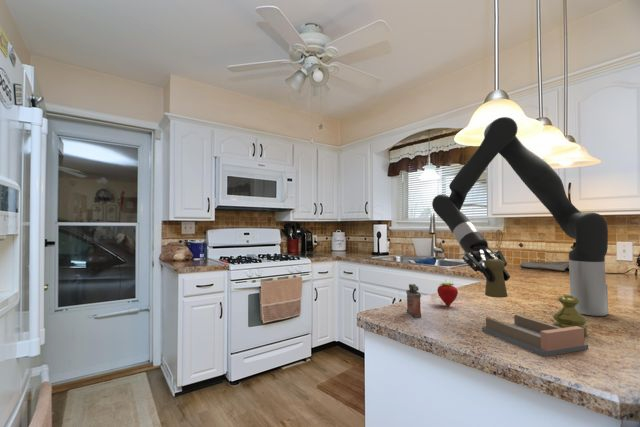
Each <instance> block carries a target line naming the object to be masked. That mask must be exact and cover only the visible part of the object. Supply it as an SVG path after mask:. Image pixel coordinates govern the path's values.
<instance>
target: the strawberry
mask: <svg viewBox="0 0 640 427" xmlns="http://www.w3.org/2000/svg"><path fill="white" fill-rule="evenodd" d="M444 281H445V282H441V284H439V285H438V287H437V289H436V290H437V293H438V296H439V298H440V299H441V301H442V302H443V303H444V304H445V305H446V306H447V307H450V306H451V305H452V303H454V302H455V300H456V299H457V297H458V293H459V291H458V289H457V287H456V286H454V283H450V282H447V280H446V278H445V279H444Z"/></svg>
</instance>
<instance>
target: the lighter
mask: <svg viewBox="0 0 640 427" xmlns="http://www.w3.org/2000/svg"><path fill="white" fill-rule="evenodd" d="M408 287H409V288H408V289H406V291H405V292H406V314H407V315H408V316H409V317H411V318H413V319H422V314H421V297H422V294H421V293H420V292H419V286H418V285H416V284H415V283H409V284H408Z"/></svg>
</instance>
